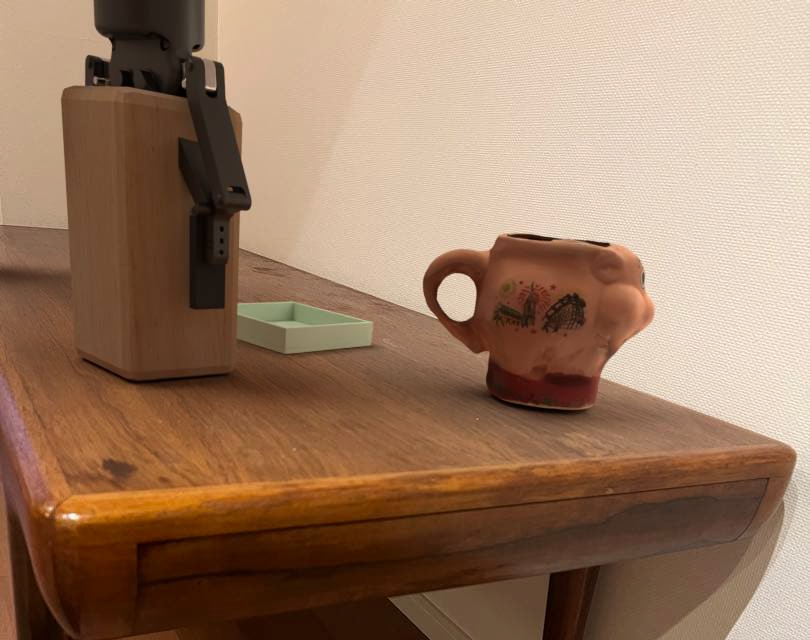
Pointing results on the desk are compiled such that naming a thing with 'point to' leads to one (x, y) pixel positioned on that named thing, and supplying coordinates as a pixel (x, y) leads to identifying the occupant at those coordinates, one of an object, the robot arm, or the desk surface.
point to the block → (139, 238)
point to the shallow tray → (299, 327)
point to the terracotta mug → (546, 313)
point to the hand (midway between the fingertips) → (155, 293)
